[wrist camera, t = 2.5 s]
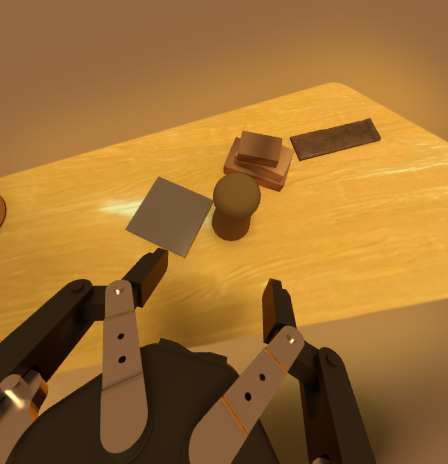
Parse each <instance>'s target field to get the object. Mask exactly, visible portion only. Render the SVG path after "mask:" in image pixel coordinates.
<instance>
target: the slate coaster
mask: <svg viewBox="0 0 448 464" xmlns="http://www.w3.org/2000/svg"><path fill="white" fill-rule="evenodd" d="M213 202H214V201H213V200H211V199H209V198H207V197H204V196H202V195H200V194H198V193H195V192H193V191H191V190H188V189H186V188H184V187H181V186H179V185H177V184H175V183H172V182H170V181H168V180H165V179H163V178H161V177H158V178H157V180H156V181H155V183H154V185H153V186H152V188H151V189H150V191H149V193H148V194H147V196H146V197H145V199H144V201H143V202H142V204H141V205H140V207H139V209H138V210H137V212H136V213H135V215H134V217H133V218H132V220H131V221H130V223H129V224H128V226H127V228H126V229H125V230H127V231H129V232H132V233H134V234H136V235H138V236H140V237H142V238H144V239H146V240H149V241H151V242H153V243H155V244H157V245H159V246H161V247H163V248H166V249H168V250H170V251H172V252H174V253H176V254H178V255H180V256H183V257H186V255H187V253H188V251H189V249H190V247H191V245H192V243H193V241H194V239H195V237H196V235H197V233H198V231H199V229H200V227H201V226H202V224H203V222H204V220H205V218H206V216H207V214H208V212H209V210H210V208H211V206H212V204H213Z"/></svg>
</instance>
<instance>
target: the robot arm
mask: <svg viewBox="0 0 448 464" xmlns="http://www.w3.org/2000/svg"><path fill="white" fill-rule="evenodd" d="M4 215H5V205H4V201H3V200H2V198H1V197H0V225H1V223H2V221H3V219H4ZM167 266H168V250H165V249H161V248H157V249H156V251H155V252H154V253H150V252H149V253H148V254H146V255H144V256H143V257H142V258H141V259H140V260H139V261H138V262H137V263H136V265H134V266H133V268H132V269H131V270H130V271H129V272H128V273H127V274H126V275H125V276H124V277H123V278H122V279H121V280H117V281H114V282H112V283H110V284H109V285H108V286H92V283H91V282H90V281H89V280H86V279H79V280H75V281H72V282H70V283H68V284H67V285H66V286H65V287H63V288H62V289H61V290H60V291H59V292H58V293H57V294H55V295H54V296H53V297H52V298H51V299H50V300H49V301H47V302H46V303H45V304H44V305H43V306H42V307H41V308H39V309H38V310H37V311H36V312H35V313H34V314H33V315H31V316H30V317H29V318H28V319H27V320H26V321H25V322H23V323H22V324H21V325H20V326H19V327H18V328H17V329H15V330H14V331H13V332H12V333H11V334H10V335H9V336H7V337H6V338H5V339H4V340H3V341H2V342H1V343H0V464H280V463H279V460H278V458H277V456H276V454H275V452H274V449H273V447H272V445H271V443H270V440H269V438H268V436H267V434H266V432H265V429H264V427H263V426H262V423H261V421H260V418H259V417H260V415H261V414H262V412H263V411H264V409H265V408H266V406H267V404H268V403H269V401H270V400H271V398H272V397H273V395H274V393H275V392H276V390H277V389H278V387H279V385H280V384H281V382H282V381H283V379H284V378H285V376H286V375H287V373H289V374H290V375H292V376H294V377H295V378H296V379H298V380H299V384H300V392H301V400H302V409H303V418H304V425H305V435H306V443H307V451H308V459H309V462H308V463H306V464H376V461H375V458H374V455H373V452H372V449H371V446H370V442H369V440H368V436H367V433H366V430H365V427H364V424H363V421H362V418H361V415H360V412H359V409H358V405H357V402H356V399H355V396H354V393H353V390H352V387H351V384H350V381H349V378H348V375H347V372H346V368H345V365H344V363H343V361H342V359H341V358H340V356H339V355H338V354H336V352H334V351H333V350H332V349H329V348H326V347H323V348H321V349H320V350H319V349H317V348H315V347H314V346H312V345H310V344H308V343H307V342H306V341H305V340H304V338H303V336H302V334H301V333H300V332H299V331H298V330H297V327H296V322H295V317H294V312H293V309H292V308H293V307H292V304H291V297H290V295H289V293H288V292H287V290H285V289H282V284H281V281H279V280H275V279H271V278H270V280H269V282H268V284H267V286H266V288H265V290H264V293H263V297H262V308H263V339H264V340H263V341H264V343H266V344H268V346H267V347H266V348H264V349H263V350H262V351H261V352H260V353H259V355H258V356H257V357H256V358H255V359H254V360H253V362H252V363H251V364H250V365H249V366H248V367H247V369H246V370H245V371H244V372H243V373H242V374H241V375H240V376H239V375H238V373H237V372H236V370H235V369H234V368H233V367H232V366H230V365H229V364H227V357H225V356H222V355H218V354H214V353H211V352H191V351H189V350H188V349H186V348H185V347H183V346H182V345H180V344H178V343H177V342H173V341H170V340H166V339H163V338H161V339H160V341H159V343H154V344H149V345H146V346H143V347H141V348H140V347H139V339H138V331H137V324H136V316H135V309H136V307H141V308H143V306H144V305H145V303H146V301H147V300H148V298H149V297H150V295H151V294H152V292H153V291H154V289H155V288H156V286H157V285H158V283H159V282H160V280H161V278H162V277H163V275H164V274H165V272H166V270H167ZM103 320H104V322H103V373H101V374H100V375H98V376H97V377H95V378H94V379H92V380H91V381H89V382H88V383H86V384H85V385H83V386H82V387H80V388H79V389H77V390H76V391H74V392H73V393H71V394H70V395H68V396H67V397H65V398H64V399H62V400H61V401H59V402H58V403H56V404H55V405H53V406H52V407H50V408H49V409H47V410H46V411H45V412H43V413H42V414H41V415H40V416H39V417H38V412H39V409H40V407H41V405H42V404H43V402H44V400H45V399H46V397H47V394H48V385H47V381H48V380H49V379H50V378H51V376H52V375H53V374H54V373H55V371H56V370H57V369H58V367H59V366H60V365H61V364H62V362H63V361H64V360H65V358H66V357H67V356H68V355H69V353H70V352H71V351H72V349H73V348H74V347H75V346H76V344H77V343H78V342H79V341H80V339H81V338H82V337H83V335H84V334H85V333H86V332H87V330H88V329H89V328H90V326H91V325H92V324H93V323H94V321H103Z"/></svg>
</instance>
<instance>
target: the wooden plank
mask: <svg viewBox="0 0 448 464" xmlns="http://www.w3.org/2000/svg"><path fill="white" fill-rule="evenodd" d="M290 139H291V142H292V144H293V147H294V149H295V152H296V154H297V156H298V159H299V161H302V160H305V159H309V158H313V157H317V156H321V155H325V154H329V153H333V152H337V151H341V150H345V149H348V148H352V147H356V146H360V145H364V144H368V143H372V142H376V141H379V140H381V137H380V135H379V133H378V132H377V130H376V128H375V126H374V124H373V122H372V120H371V119H370V118H369V119H366V120H362V121H358V122H354V123H350V124H345V125H341V126H337V127H333V128H329V129H325V130H318V131H314V132H309V133H305V134H301V135H297V136H292V137H290Z"/></svg>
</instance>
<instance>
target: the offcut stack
mask: <svg viewBox="0 0 448 464" xmlns="http://www.w3.org/2000/svg"><path fill="white" fill-rule="evenodd" d="M293 153H294V150H292V149H289V148H287V147H284V146H282V138H278V137H273V136H267V135H262V134H257V133H252V132H247V131H242V135H241V139H240V138H237V137H236V138H235V140H234V143H233V145H232V148H231V150H230V153H229V155H228V158H227V160H226V163H225V165H224V173H225V174H230V173H244V174H246V175H248V176H250V177H251V178H252V179H254V180H255V181H256V183H257V184H258V185H261V186H264V187H267V188H270V189H273V190H276V191H279V192H280V190H281V189H282V188H283V186H284V183H285V180H286V177H287V173H288V170H289V166H290V163H291V160H292V156H293Z"/></svg>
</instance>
